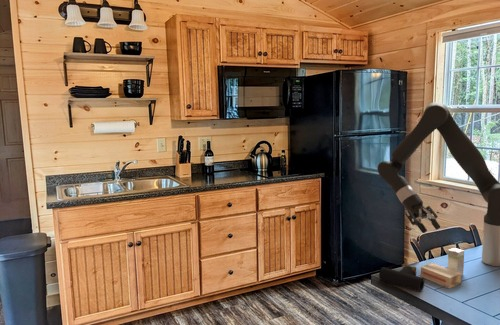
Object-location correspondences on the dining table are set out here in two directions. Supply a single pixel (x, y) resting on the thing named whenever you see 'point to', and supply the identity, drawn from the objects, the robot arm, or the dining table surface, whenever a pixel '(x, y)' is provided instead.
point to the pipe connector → (403, 277)
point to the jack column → (456, 260)
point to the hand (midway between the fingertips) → (432, 230)
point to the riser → (441, 275)
